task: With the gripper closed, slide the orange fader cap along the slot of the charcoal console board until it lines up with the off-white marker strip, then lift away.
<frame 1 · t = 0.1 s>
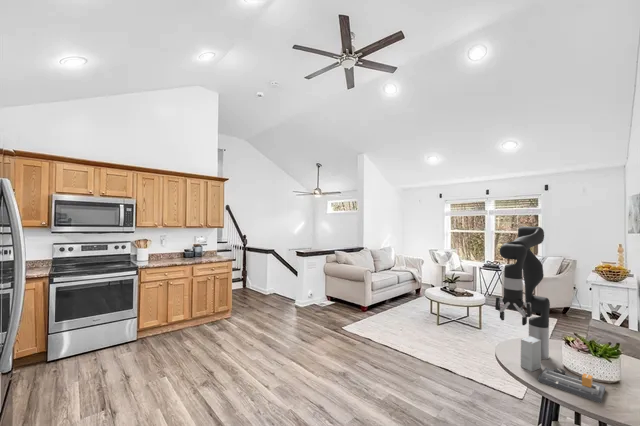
hand: (512, 322, 141), 29 cm above the table, fingers open, 8 cm apart
fader knob: (587, 382, 135), point 5 cm above the table, slide at 6.0 cm
skincare box: (530, 368, 157), on the table
console: (570, 385, 141), on the table
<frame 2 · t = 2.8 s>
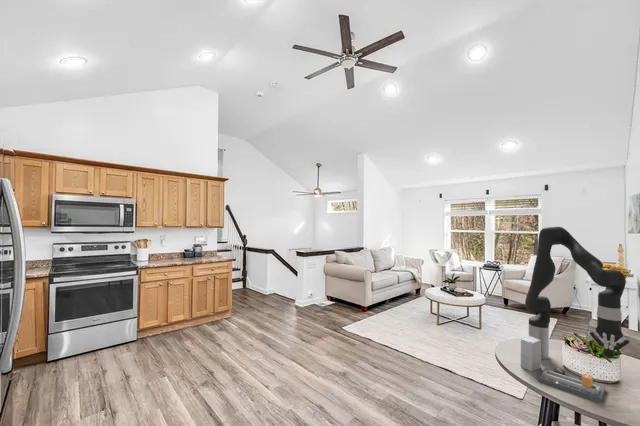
hand: (609, 357, 130), 18 cm above the table, fingers closed
nothing on the table moved.
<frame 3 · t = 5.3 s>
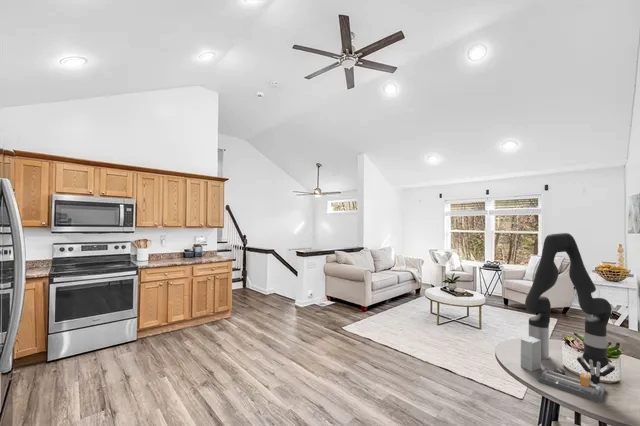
hand: (595, 383, 133), 5 cm above the table, fingers closed
fader knob: (585, 381, 136), point 5 cm above the table, slide at 5.2 cm, touching gripper
everything else where it was.
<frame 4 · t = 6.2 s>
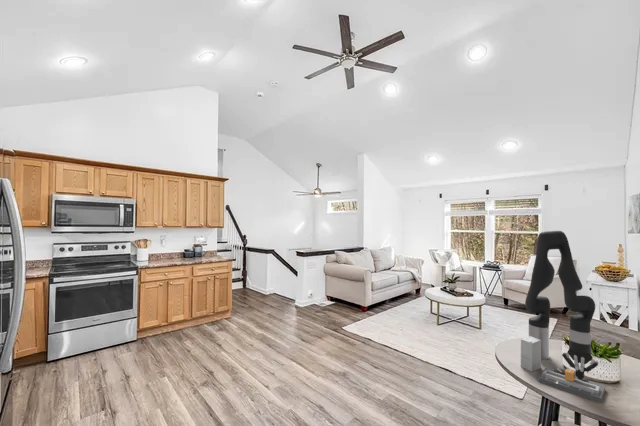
hand: (579, 378, 137), 5 cm above the table, fingers closed
fader knob: (570, 376, 139), point 5 cm above the table, slide at 0.0 cm, touching gripper
everything else where it was.
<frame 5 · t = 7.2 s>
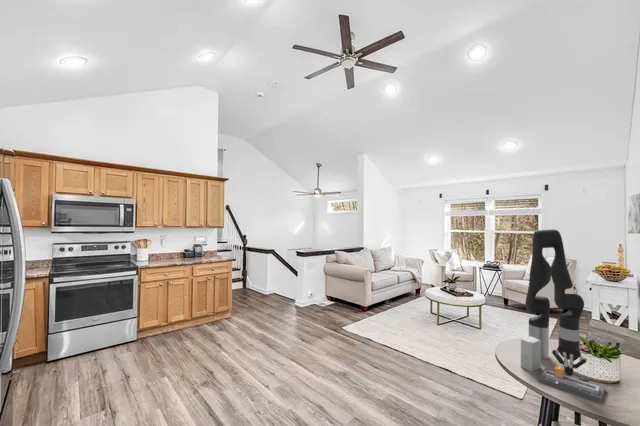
hand: (568, 374, 140), 5 cm above the table, fingers closed
fader knob: (559, 373, 142), point 5 cm above the table, slide at -3.8 cm, touching gripper
everything else where it was.
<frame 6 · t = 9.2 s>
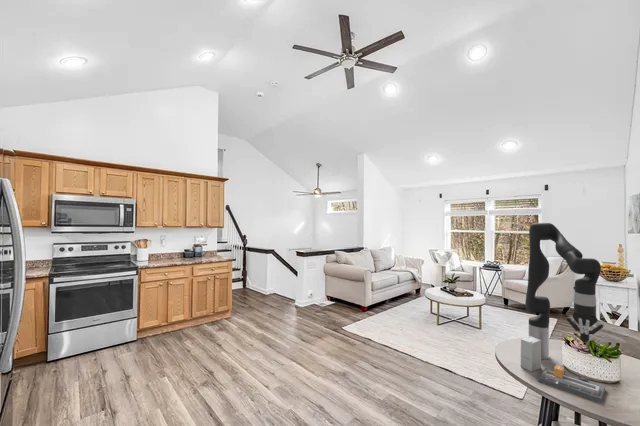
hand: (584, 341, 136), 22 cm above the table, fingers closed
fader knob: (559, 373, 142), point 5 cm above the table, slide at -4.0 cm
everything else where it was.
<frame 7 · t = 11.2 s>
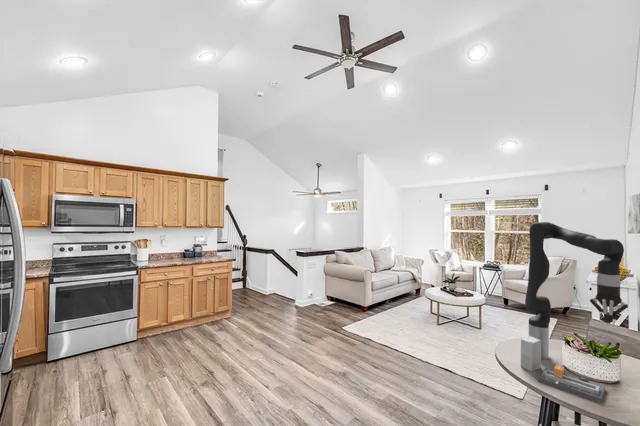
hand: (608, 322, 136), 31 cm above the table, fingers closed
nothing on the table moved.
at the end: fader knob slide at -4.0 cm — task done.
